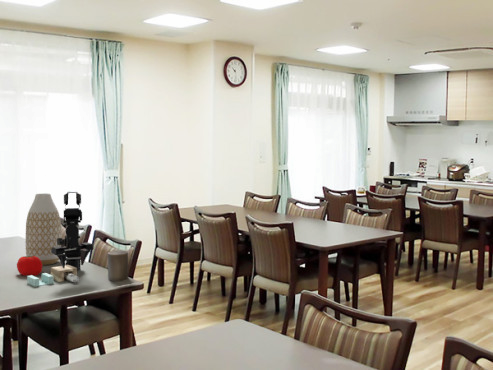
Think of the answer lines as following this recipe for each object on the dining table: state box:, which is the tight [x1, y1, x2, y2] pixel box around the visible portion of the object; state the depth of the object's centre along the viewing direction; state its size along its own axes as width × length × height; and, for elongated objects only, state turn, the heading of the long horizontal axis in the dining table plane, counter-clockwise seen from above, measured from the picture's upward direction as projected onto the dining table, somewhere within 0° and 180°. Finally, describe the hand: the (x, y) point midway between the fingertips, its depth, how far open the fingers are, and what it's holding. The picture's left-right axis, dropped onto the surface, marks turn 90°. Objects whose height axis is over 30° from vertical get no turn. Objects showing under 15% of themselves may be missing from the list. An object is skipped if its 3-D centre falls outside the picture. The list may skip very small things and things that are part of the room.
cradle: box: [26, 272, 55, 288], centre depth 255 cm, size 9×8×4 cm
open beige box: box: [50, 265, 78, 283], centre depth 264 cm, size 9×9×6 cm
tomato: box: [16, 255, 43, 277], centre depth 271 cm, size 11×13×10 cm
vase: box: [25, 193, 63, 266], centre depth 298 cm, size 19×19×38 cm
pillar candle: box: [107, 250, 129, 282], centre depth 265 cm, size 10×10×15 cm
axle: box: [64, 272, 80, 284], centre depth 262 cm, size 16×3×3 cm, turn 44°
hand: (72, 266), depth 257 cm, fingers open, 9 cm apart
